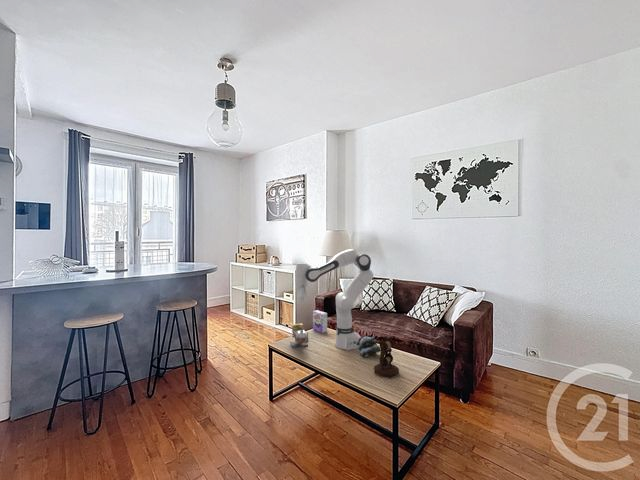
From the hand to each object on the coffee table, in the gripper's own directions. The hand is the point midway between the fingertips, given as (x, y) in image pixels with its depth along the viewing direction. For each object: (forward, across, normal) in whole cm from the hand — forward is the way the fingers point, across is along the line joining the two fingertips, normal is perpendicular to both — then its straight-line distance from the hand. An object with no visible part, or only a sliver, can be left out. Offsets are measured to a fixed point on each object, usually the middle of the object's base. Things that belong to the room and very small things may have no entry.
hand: (302, 301), depth 229 cm
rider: (+22, -17, +4) cm, 28 cm away
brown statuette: (+32, -62, -39) cm, 80 cm away
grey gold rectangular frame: (+32, -9, +4) cm, 33 cm away
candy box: (+32, +24, -20) cm, 45 cm away
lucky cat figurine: (+32, -35, -39) cm, 62 cm away
